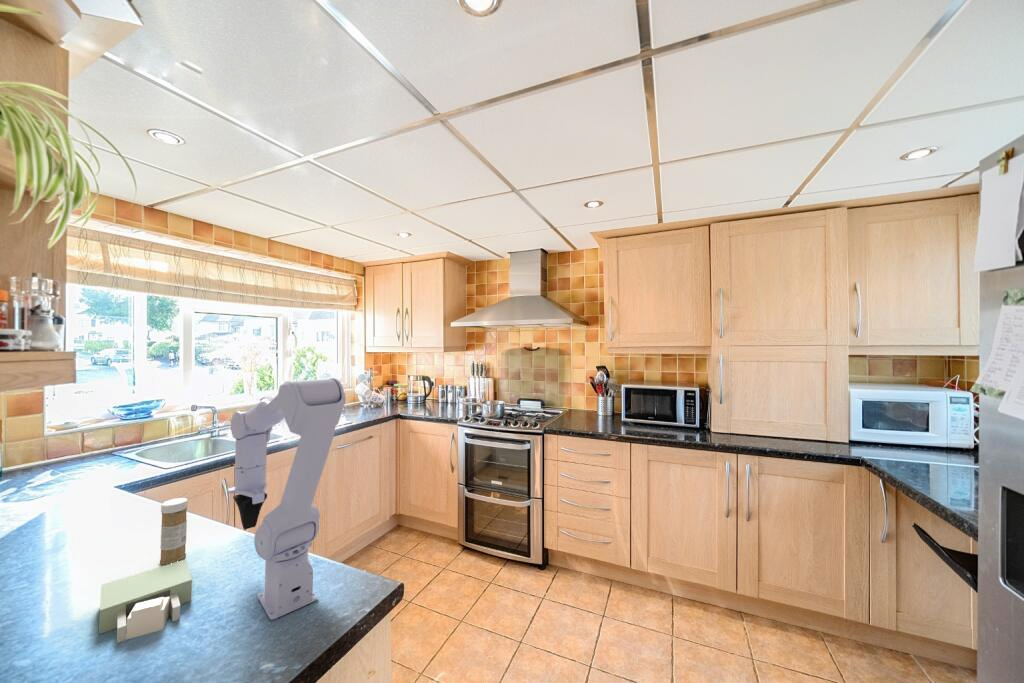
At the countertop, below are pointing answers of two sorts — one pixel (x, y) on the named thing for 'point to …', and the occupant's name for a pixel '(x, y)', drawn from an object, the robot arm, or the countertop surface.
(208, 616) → the countertop surface
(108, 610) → the deck
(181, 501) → the sprinkles bottle
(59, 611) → the countertop surface
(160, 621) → the cream small block
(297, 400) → the robot arm
